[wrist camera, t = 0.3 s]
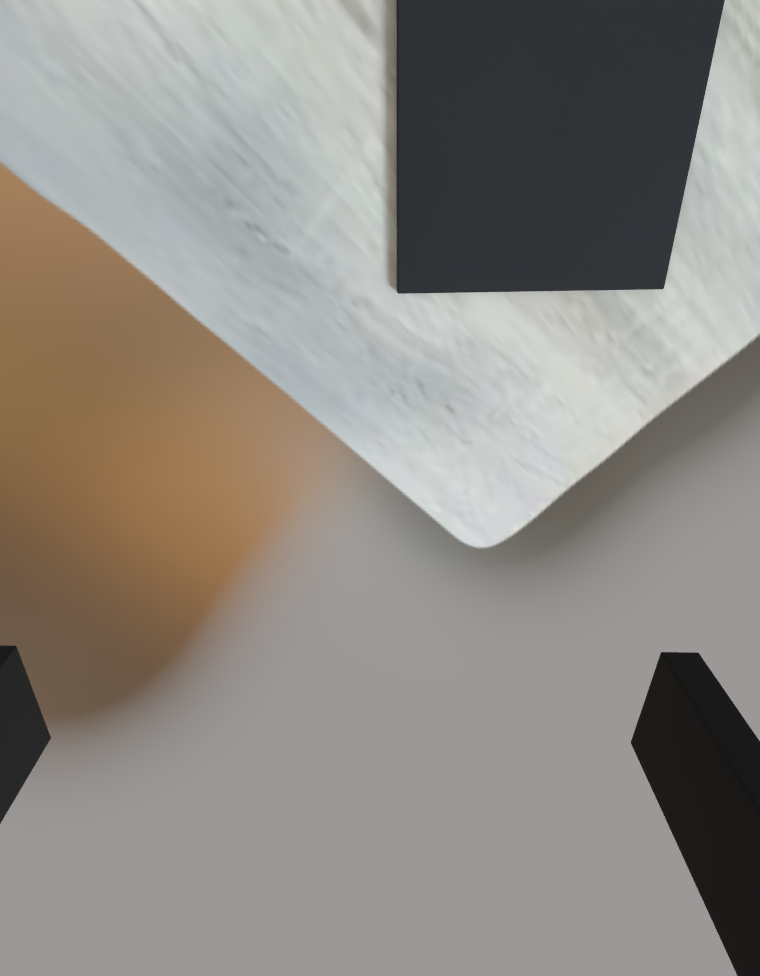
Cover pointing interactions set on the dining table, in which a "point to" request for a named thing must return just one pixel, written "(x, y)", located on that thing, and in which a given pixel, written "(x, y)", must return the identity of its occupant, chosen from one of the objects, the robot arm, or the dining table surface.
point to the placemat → (545, 140)
